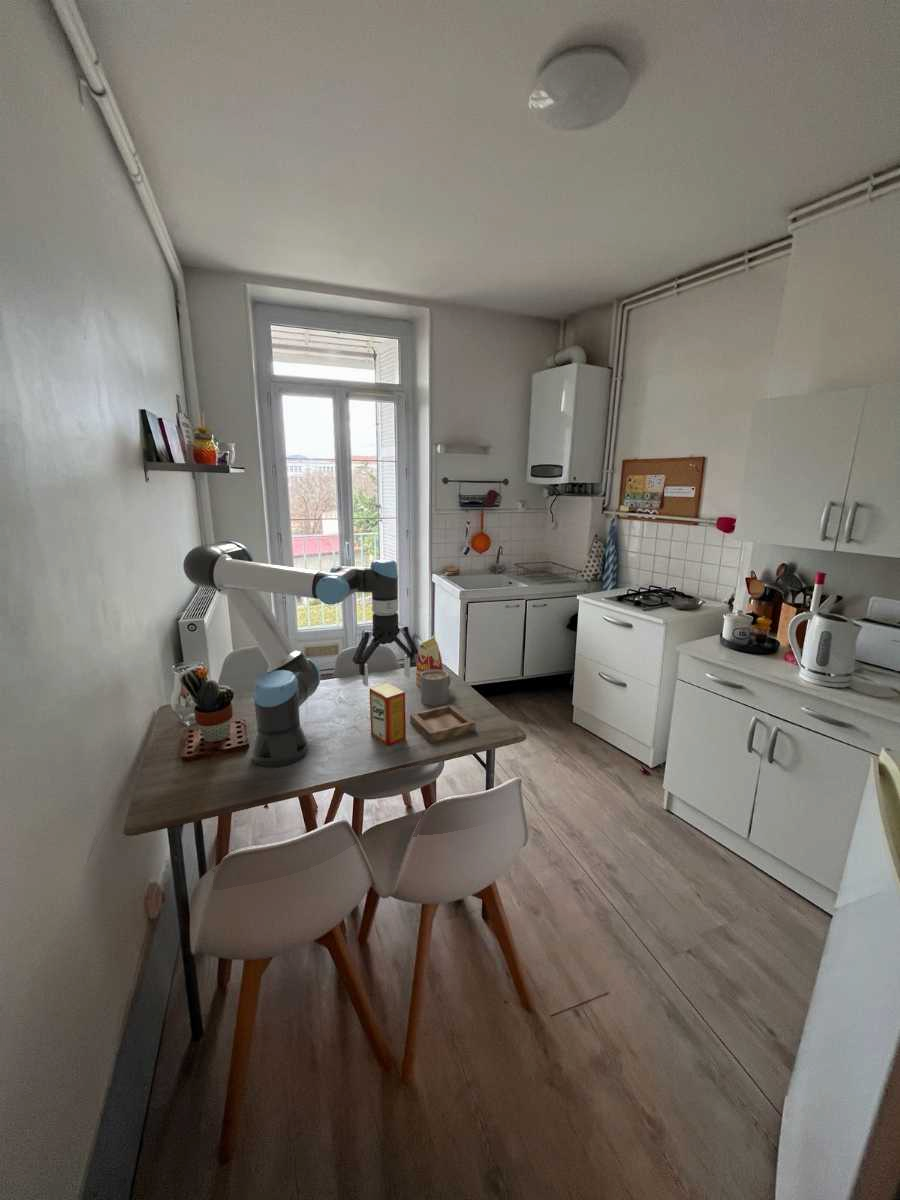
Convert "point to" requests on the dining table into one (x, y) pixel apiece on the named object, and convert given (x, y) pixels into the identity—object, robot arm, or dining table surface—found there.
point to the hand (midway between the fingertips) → (386, 680)
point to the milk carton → (428, 658)
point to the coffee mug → (434, 687)
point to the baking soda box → (387, 714)
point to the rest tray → (442, 723)
